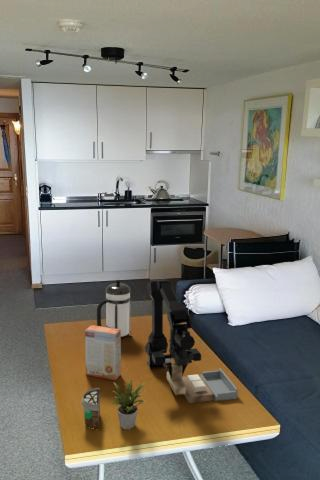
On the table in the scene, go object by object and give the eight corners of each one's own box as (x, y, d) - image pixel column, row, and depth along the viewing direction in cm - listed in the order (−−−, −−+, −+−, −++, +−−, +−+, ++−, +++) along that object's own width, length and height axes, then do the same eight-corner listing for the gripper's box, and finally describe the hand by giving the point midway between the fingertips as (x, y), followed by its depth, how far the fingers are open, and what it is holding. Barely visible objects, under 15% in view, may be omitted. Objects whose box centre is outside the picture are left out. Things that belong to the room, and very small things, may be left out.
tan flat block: (189, 403, 175) (189, 397, 174) (177, 382, 190) (177, 377, 190) (213, 400, 177) (213, 394, 177) (199, 380, 193) (200, 374, 192)
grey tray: (215, 401, 177) (216, 391, 176) (200, 378, 194) (200, 370, 193) (237, 398, 179) (237, 389, 178) (219, 376, 196) (220, 367, 195)
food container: (83, 412, 167) (82, 387, 165) (100, 411, 168) (99, 386, 166) (80, 432, 155) (79, 406, 153) (98, 432, 156) (98, 405, 154)
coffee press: (105, 329, 244) (105, 274, 239) (134, 331, 242) (135, 276, 236) (96, 342, 228) (96, 284, 222) (128, 344, 226) (128, 286, 220)
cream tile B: (190, 385, 183) (190, 380, 183) (187, 379, 187) (187, 375, 187) (201, 384, 184) (201, 379, 184) (197, 378, 188) (197, 374, 188)
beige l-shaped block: (175, 394, 174) (176, 373, 173) (166, 378, 187) (167, 358, 185) (185, 393, 175) (186, 372, 174) (176, 377, 188) (176, 357, 186)
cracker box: (121, 374, 196) (121, 328, 192) (115, 381, 190) (115, 334, 186) (91, 369, 200) (91, 324, 196) (85, 375, 194) (84, 329, 190)
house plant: (154, 436, 154) (155, 391, 151) (114, 442, 150) (114, 397, 147) (143, 412, 168) (144, 371, 165) (106, 418, 164) (106, 376, 161)
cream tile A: (194, 391, 178) (194, 387, 178) (191, 386, 182) (191, 381, 182) (205, 390, 179) (205, 386, 179) (201, 385, 184) (201, 380, 183)
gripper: (159, 350, 167) (158, 389, 170) (207, 346, 172) (205, 384, 175) (152, 338, 178) (151, 375, 181) (197, 334, 182) (195, 370, 185)
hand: (176, 376), depth 180 cm, fingers closed on beige l-shaped block, 4 cm apart
